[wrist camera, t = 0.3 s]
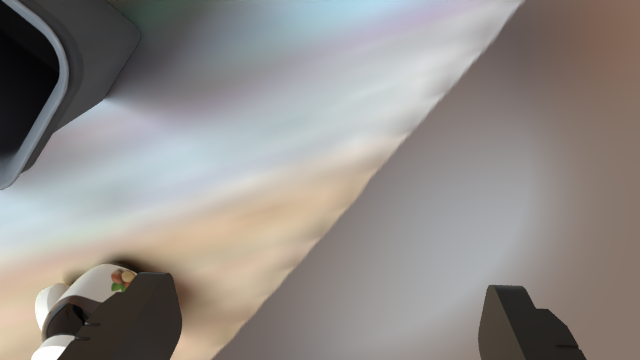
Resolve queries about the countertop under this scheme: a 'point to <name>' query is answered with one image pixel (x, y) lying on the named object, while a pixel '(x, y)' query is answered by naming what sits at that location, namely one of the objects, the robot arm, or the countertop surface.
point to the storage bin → (54, 70)
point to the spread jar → (76, 305)
